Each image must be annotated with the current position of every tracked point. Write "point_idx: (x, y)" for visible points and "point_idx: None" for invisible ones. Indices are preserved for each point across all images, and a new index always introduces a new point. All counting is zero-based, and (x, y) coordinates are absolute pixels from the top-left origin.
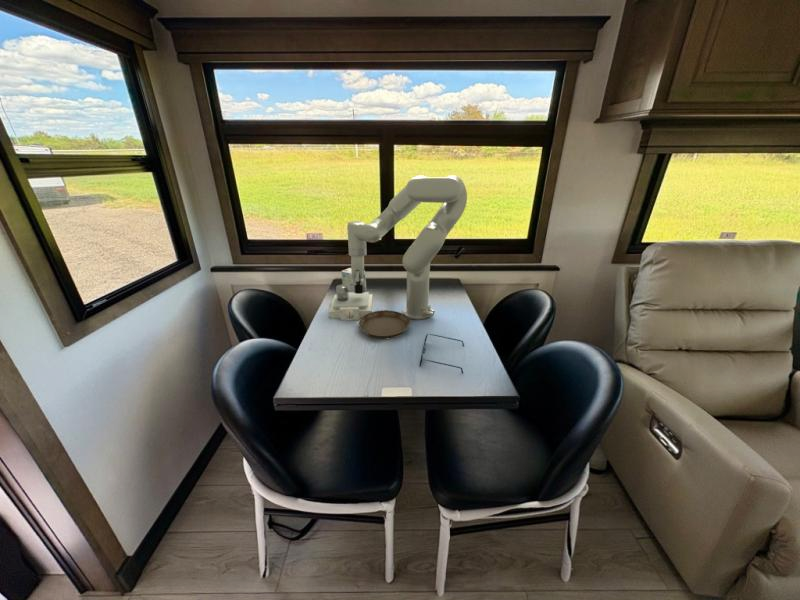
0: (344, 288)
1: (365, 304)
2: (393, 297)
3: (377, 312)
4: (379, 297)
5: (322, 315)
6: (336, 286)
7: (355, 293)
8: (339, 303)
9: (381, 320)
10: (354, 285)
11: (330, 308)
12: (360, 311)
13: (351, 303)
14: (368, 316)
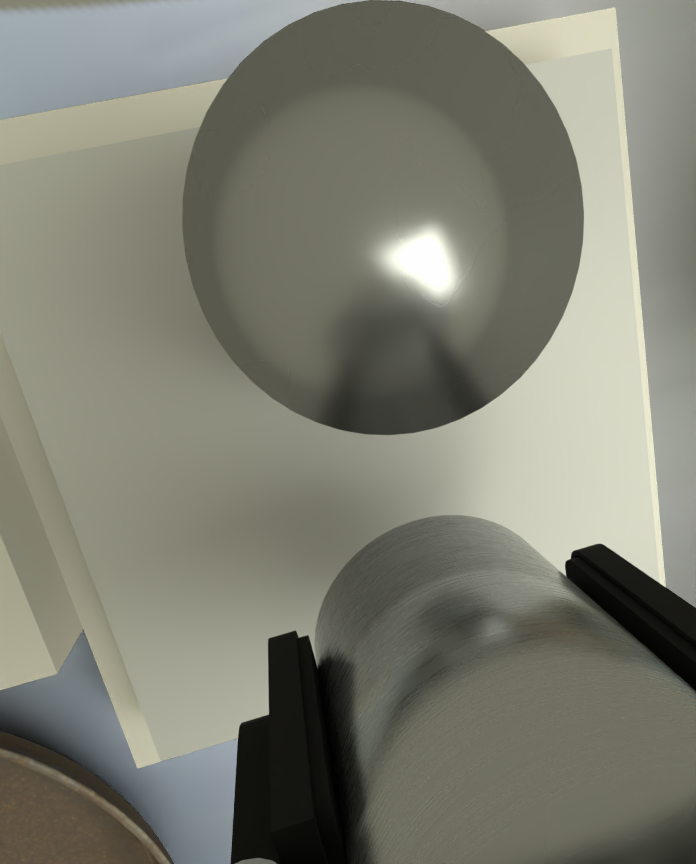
0: (251, 380)
1: (188, 722)
2: None
3: (141, 831)
4: None
5: (8, 18)
6: (375, 13)
7: (590, 420)
8: (113, 275)
9: (68, 847)
10: (373, 713)
11: (33, 121)
12: (91, 636)
13: (169, 498)
14: (25, 751)
